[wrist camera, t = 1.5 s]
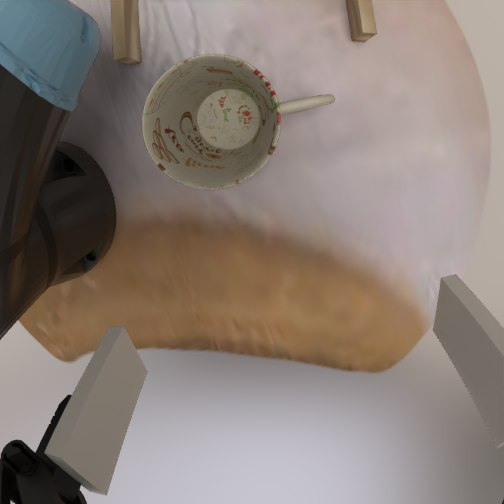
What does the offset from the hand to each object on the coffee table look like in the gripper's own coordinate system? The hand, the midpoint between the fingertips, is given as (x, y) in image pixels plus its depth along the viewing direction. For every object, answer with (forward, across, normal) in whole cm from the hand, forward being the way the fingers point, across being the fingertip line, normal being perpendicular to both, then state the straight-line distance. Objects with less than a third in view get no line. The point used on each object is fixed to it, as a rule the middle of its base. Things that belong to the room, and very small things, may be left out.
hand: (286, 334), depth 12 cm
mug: (+19, 0, +8) cm, 21 cm away
